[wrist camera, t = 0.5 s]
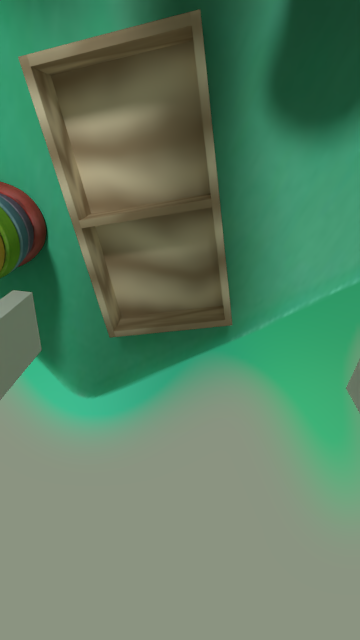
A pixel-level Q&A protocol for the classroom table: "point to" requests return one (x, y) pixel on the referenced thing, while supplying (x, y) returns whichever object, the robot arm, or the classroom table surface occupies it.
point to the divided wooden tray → (138, 171)
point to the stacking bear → (18, 229)
